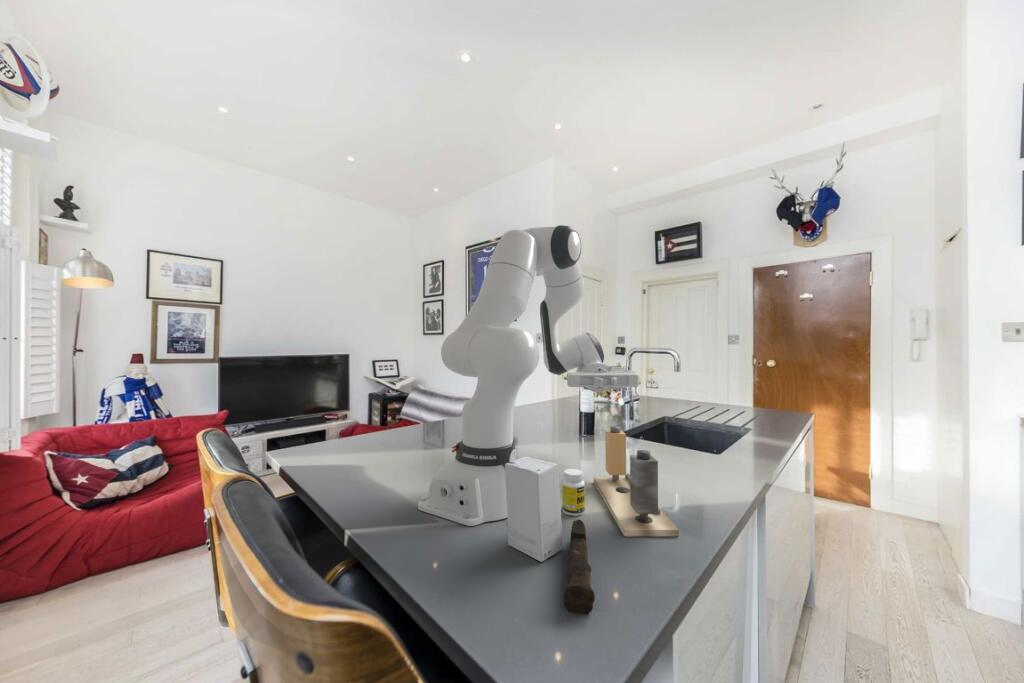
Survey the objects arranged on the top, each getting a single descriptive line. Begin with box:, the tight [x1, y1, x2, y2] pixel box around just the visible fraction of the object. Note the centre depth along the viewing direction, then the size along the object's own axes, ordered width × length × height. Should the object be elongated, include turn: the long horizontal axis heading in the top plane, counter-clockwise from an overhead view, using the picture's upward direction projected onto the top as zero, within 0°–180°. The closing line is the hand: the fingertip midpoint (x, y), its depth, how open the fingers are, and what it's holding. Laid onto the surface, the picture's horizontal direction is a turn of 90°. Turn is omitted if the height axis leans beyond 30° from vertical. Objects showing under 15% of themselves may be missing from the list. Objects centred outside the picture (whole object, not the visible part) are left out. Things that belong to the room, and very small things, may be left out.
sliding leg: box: [604, 425, 627, 480], centre depth 92 cm, size 4×4×13 cm
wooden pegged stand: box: [593, 449, 680, 537], centre depth 81 cm, size 10×26×14 cm, turn 0°
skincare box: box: [505, 456, 563, 563], centre depth 65 cm, size 8×6×15 cm
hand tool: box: [563, 519, 596, 615], centre depth 58 cm, size 19×4×5 cm, turn 168°
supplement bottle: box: [561, 468, 586, 517], centre depth 78 cm, size 5×5×8 cm
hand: (608, 382), depth 98 cm, fingers closed
